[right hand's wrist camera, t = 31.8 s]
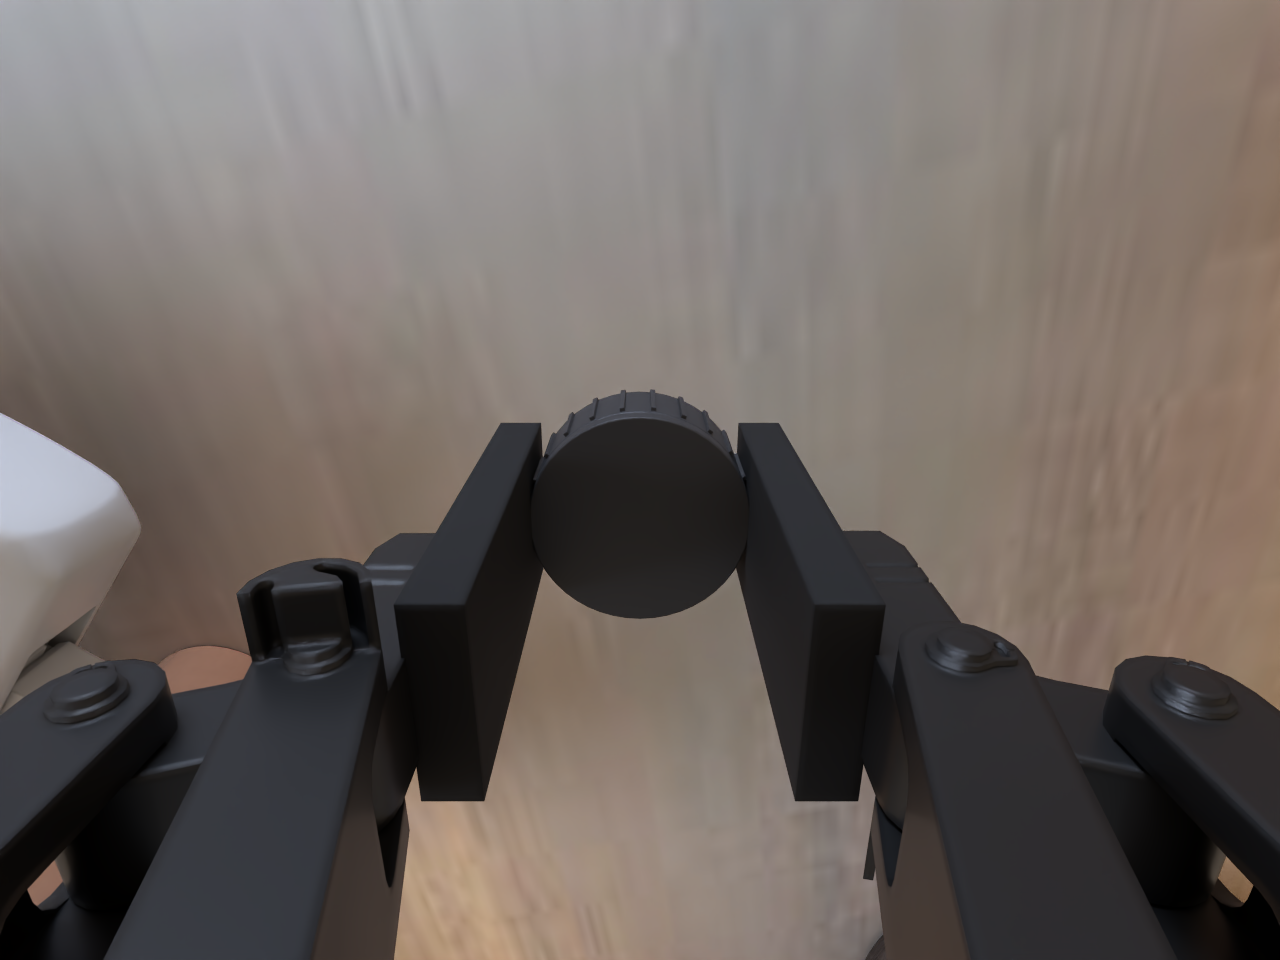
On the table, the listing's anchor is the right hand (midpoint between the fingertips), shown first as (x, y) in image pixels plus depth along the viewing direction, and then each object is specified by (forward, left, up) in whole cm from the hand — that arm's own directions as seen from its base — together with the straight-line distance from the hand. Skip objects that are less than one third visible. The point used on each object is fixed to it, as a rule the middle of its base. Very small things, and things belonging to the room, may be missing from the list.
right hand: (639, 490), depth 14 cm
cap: (0, 0, +1) cm, 1 cm away
